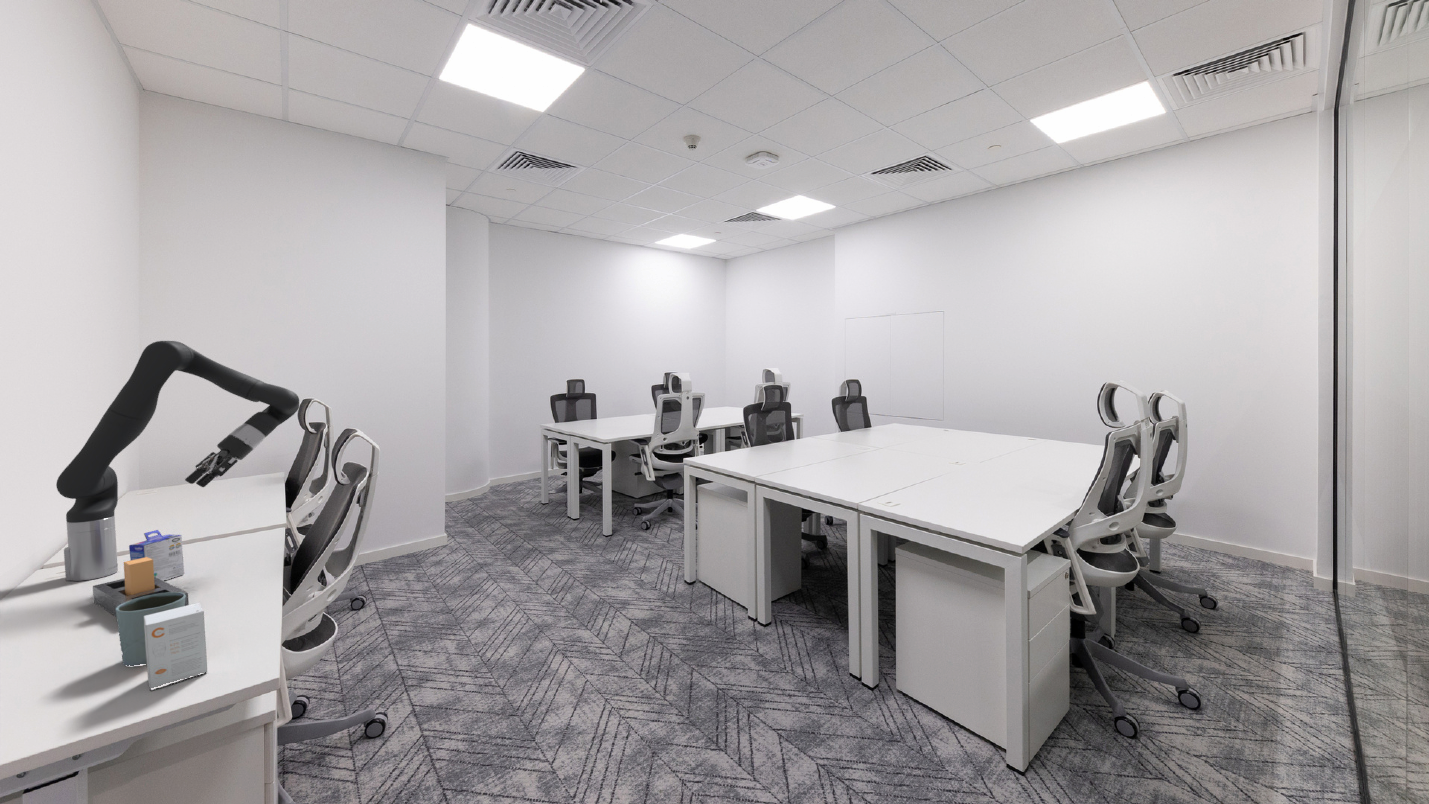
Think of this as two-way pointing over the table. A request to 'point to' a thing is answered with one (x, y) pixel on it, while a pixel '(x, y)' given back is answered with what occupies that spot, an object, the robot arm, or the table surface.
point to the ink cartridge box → (161, 554)
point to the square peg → (138, 576)
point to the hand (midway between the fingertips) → (193, 483)
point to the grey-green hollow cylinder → (141, 622)
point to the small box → (175, 644)
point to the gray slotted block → (115, 595)
